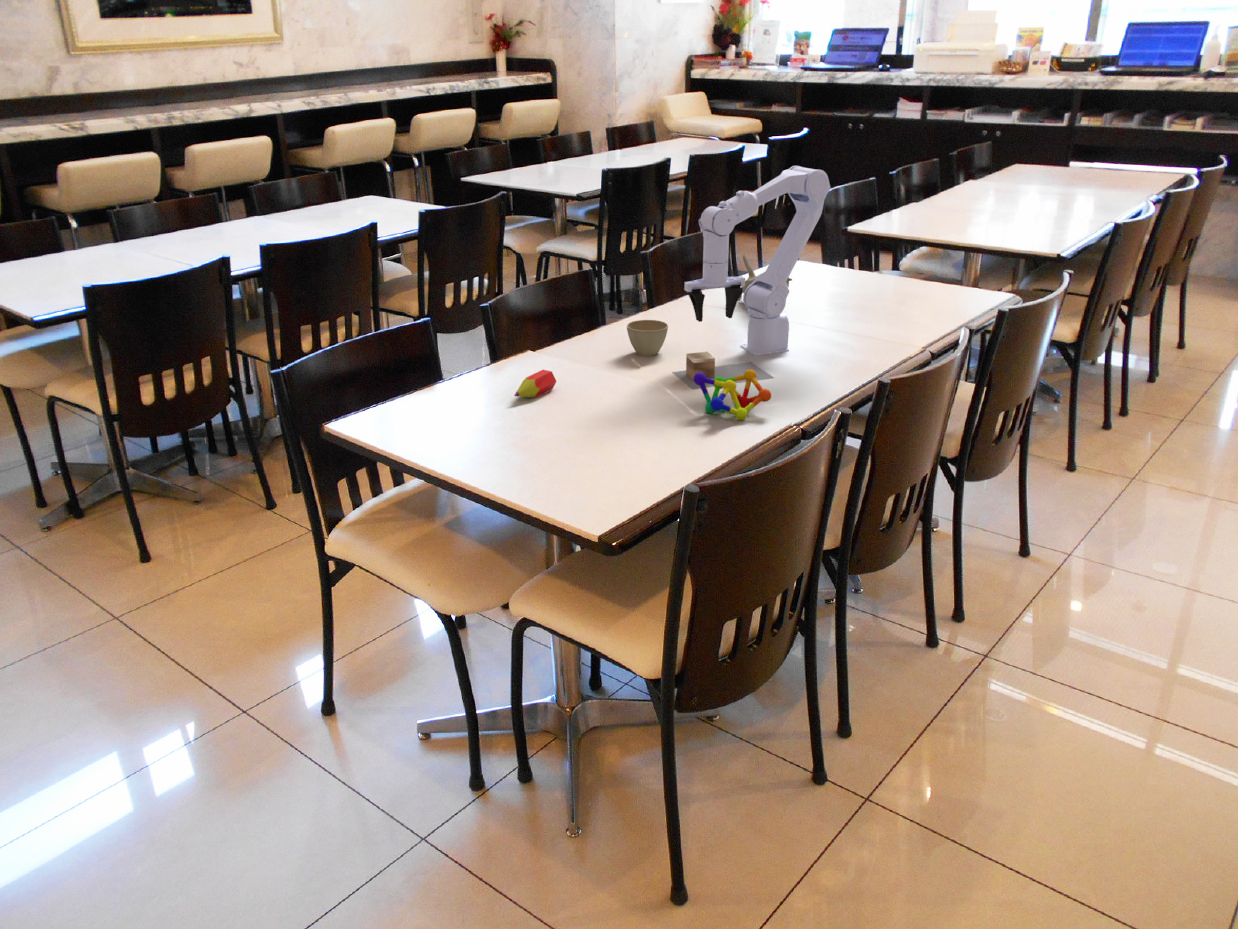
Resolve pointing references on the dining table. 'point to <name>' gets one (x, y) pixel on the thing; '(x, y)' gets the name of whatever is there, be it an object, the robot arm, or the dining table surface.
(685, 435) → the dining table surface
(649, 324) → the flower pot
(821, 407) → the dining table surface
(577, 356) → the dining table surface
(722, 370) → the mat
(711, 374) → the walnut cube
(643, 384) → the dining table surface
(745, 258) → the sculpture
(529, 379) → the pencil
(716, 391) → the decorative model
